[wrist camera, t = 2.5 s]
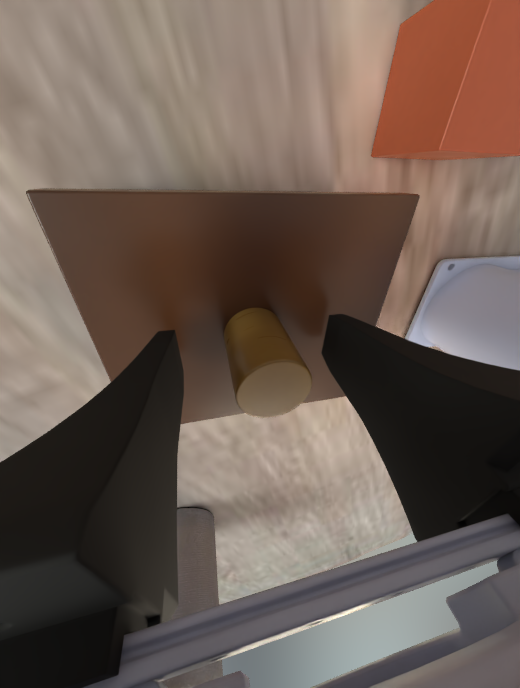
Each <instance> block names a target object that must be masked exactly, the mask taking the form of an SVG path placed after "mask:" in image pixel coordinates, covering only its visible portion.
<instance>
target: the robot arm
mask: <svg viewBox="0 0 520 688" xmlns="http://www.w3.org/2000/svg"><path fill="white" fill-rule="evenodd" d="M431 346H437V347H438V348H440V349H441V350H443V351H444V352H446V353H444V352H441V351H438V350H435V349H432V348H429V347H431ZM321 354H322V356H323V358H324V360H325V363H326V365H327V367H328V369H329V371H330V372H331V374H332V376H333V377H334V379H335V380H336V382H337V383H338V385H339V386H340V388H341V389H342V391H343V392H344V394H345V395H346V396H347V398H348V399H349V401H350V402H351V404H352V405H353V407H354V408H355V410H356V411H357V413H358V414H359V416H360V418H361V419H362V421H363V423H364V425H365V427H366V428H367V430H368V432H369V434H370V436H371V438H372V440H373V442H374V444H375V446H376V448H377V450H378V452H379V454H380V456H381V458H382V460H383V462H384V464H385V466H386V468H387V471H388V473H389V475H390V477H391V480H392V482H393V484H394V486H395V489H396V491H397V493H398V496H399V498H400V501H401V503H402V505H403V508H404V510H405V513H406V515H407V518H408V520H409V523H410V526H411V528H412V531H413V534H414V536H415V538H416V540H417V542H416V543H413V544H410V545H407V546H404V547H400V548H397V549H394V550H391V551H388V552H385V553H381V554H378V555H375V556H372V557H369V558H366V559H363V560H360V561H356V562H353V563H350V564H347V565H344V566H341V567H338V568H334V569H331V570H328V571H325V572H322V573H318V574H315V575H312V576H309V577H306V578H303V579H300V580H296V581H293V582H290V583H287V584H284V585H281V586H278V587H274V588H271V589H268V590H265V591H262V592H259V593H255V594H252V595H249V596H246V597H243V598H240V599H237V600H233V601H230V602H227V603H224V604H221V605H218V606H215V607H211V608H208V609H205V610H202V611H199V612H196V613H192V614H189V615H186V616H183V617H180V618H177V619H174V620H170V619H171V618H172V616H173V614H174V613H175V611H176V609H177V607H178V605H179V600H178V560H177V453H178V441H179V432H180V424H181V415H182V406H183V397H184V370H183V365H182V361H181V356H180V351H179V346H178V341H177V337H176V332H175V330H166V331H158V332H157V333H156V334H155V335H154V337H153V338H152V339H151V340H150V341H149V342H148V344H147V345H146V346H145V347H144V348H143V350H142V351H141V352H140V353H139V354H138V355H137V356H136V357H135V359H134V360H133V361H132V362H131V363H130V364H129V365H128V366H127V367H126V368H125V369H124V370H123V371H122V372H121V373H120V374H119V375H118V376H117V377H116V378H115V379H114V380H113V381H112V382H111V383H110V384H109V385H108V386H107V387H106V388H104V389H103V390H102V391H101V392H100V393H99V394H97V395H96V396H95V397H94V398H93V399H91V400H90V401H89V402H88V403H86V404H85V405H84V406H83V407H81V408H80V409H79V410H77V411H76V412H75V413H73V414H72V415H71V416H69V417H68V418H66V419H65V420H64V421H62V422H61V423H59V424H58V425H57V426H55V427H54V428H53V429H51V430H50V431H48V432H47V433H46V434H44V435H43V436H41V437H40V438H38V439H37V440H35V441H33V442H32V443H30V444H29V445H27V446H26V447H24V448H23V449H21V450H20V451H18V452H16V453H15V454H13V455H12V456H10V457H8V458H7V459H5V460H4V461H2V462H0V688H168V687H167V686H166V685H165V684H164V683H162V682H161V681H164V680H167V679H169V678H172V677H175V676H178V675H180V674H183V673H186V672H189V671H191V670H194V669H197V668H200V667H202V666H205V665H208V664H211V663H214V662H216V661H219V660H222V659H225V658H227V657H230V656H233V655H235V654H238V653H241V652H244V651H247V650H249V649H252V648H255V647H258V646H260V645H263V644H266V643H269V642H271V641H274V640H277V639H280V638H283V637H285V636H288V635H291V634H294V633H296V632H299V631H302V630H305V629H307V628H310V627H313V626H316V625H319V624H321V623H324V622H327V621H330V620H332V619H335V618H338V617H341V616H343V615H346V614H349V613H352V612H355V611H357V610H360V609H363V608H365V607H368V606H371V605H374V604H377V603H379V602H382V601H385V600H388V599H391V598H393V597H396V596H399V595H402V594H404V593H407V592H410V591H413V590H415V589H418V588H421V587H424V586H426V585H429V584H432V583H435V582H438V581H440V580H443V579H446V578H449V577H451V576H454V575H457V574H460V573H462V572H465V571H468V570H471V569H473V568H476V567H479V566H482V565H485V564H487V563H490V562H493V561H496V560H498V559H499V560H498V561H497V567H498V569H499V573H497V574H494V575H492V576H490V577H488V578H486V579H484V580H483V581H480V582H479V583H476V584H475V585H472V586H470V587H468V588H467V589H464V590H462V591H460V592H458V593H455V594H454V595H451V596H449V597H447V599H446V602H447V604H448V606H449V608H450V610H451V611H452V613H453V614H454V616H455V618H456V620H457V621H458V623H459V626H460V628H458V629H455V630H453V631H450V632H447V633H445V634H443V635H440V636H437V637H435V638H433V639H430V640H427V641H425V642H422V643H420V644H417V645H415V646H412V647H410V648H407V649H405V650H402V651H399V652H397V653H394V654H392V655H389V656H387V657H384V658H382V659H380V660H377V661H374V662H372V663H369V664H367V665H365V666H362V667H360V668H357V669H355V670H352V671H350V672H347V673H345V674H343V675H340V676H338V677H335V678H333V679H330V680H328V681H326V682H323V683H321V684H318V685H316V686H313V687H311V688H520V255H516V256H496V257H477V258H457V259H444V260H441V261H440V262H439V263H438V264H437V266H436V268H435V270H434V272H433V275H432V277H431V279H430V282H429V284H428V286H427V289H426V291H425V293H424V295H423V298H422V300H421V302H420V305H419V307H418V309H417V312H416V314H415V316H414V318H413V321H412V323H411V325H410V328H409V330H408V332H407V335H406V337H405V339H404V338H401V337H399V336H396V335H394V334H391V333H389V332H387V331H384V330H382V329H380V328H377V327H375V326H373V325H370V324H368V323H366V322H363V321H361V320H358V319H356V318H353V317H351V316H348V315H344V314H335V315H329V318H328V323H327V328H326V332H325V337H324V342H323V347H322V352H321ZM190 688H250V683H249V678H248V677H247V676H246V675H244V674H243V673H242V672H241V671H238V672H235V673H232V674H229V675H226V676H223V677H220V678H217V679H214V680H211V681H208V682H205V683H202V684H199V685H196V686H193V687H190Z"/></svg>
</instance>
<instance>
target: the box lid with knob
mask: <svg viewBox="0 0 520 688" xmlns="http://www.w3.org/2000/svg"><path fill="white" fill-rule="evenodd" d="M26 194H27V196H28V199H29V201H30V203H31V205H32V208H33V210H34V212H35V214H36V216H37V219H38V221H39V223H40V225H41V227H42V230H43V232H44V234H45V236H46V239H47V241H48V243H49V245H50V247H51V250H52V252H53V254H54V256H55V259H56V261H57V263H58V265H59V267H60V270H61V272H62V274H63V276H64V278H65V281H66V283H67V285H68V287H69V290H70V292H71V294H72V296H73V298H74V301H75V303H76V305H77V307H78V310H79V312H80V314H81V316H82V318H83V321H84V323H85V325H86V327H87V329H88V332H89V334H90V336H91V338H92V341H93V343H94V345H95V347H96V349H97V352H98V354H99V356H100V358H101V360H102V363H103V365H104V367H105V369H106V372H107V374H108V376H109V378H110V380H111V382H112V381H113V380H114V379H115V378H116V377H117V376H118V375H119V374H120V373H121V372H122V371H123V370H124V369H125V368H126V367H127V366H128V365H129V364H130V363H131V362H132V361H133V360H134V359H135V357H136V356H137V355H138V354H139V353H140V352H141V351H142V350H143V348H144V347H145V346H146V345H147V344H148V342H149V341H150V340H151V339H152V338H153V337H154V335H155V334H156V333H157V332H158V331H166V330H175V332H176V337H177V341H178V346H179V351H180V356H181V361H182V365H183V370H184V397H183V406H182V415H181V424H184V423H189V422H195V421H201V420H207V419H213V418H219V417H225V416H231V415H237V414H243V413H246V414H248V415H250V416H254V417H258V418H270V417H276V416H280V415H283V414H285V413H288V412H290V411H291V410H293V409H295V408H296V407H298V406H299V405H300V404H302V403H308V402H314V401H320V400H326V399H332V398H338V397H344V396H346V395H345V394H344V392H343V391H342V389H341V388H340V386H339V385H338V383H337V382H336V380H335V379H334V377H333V376H332V374H331V372H330V371H329V369H328V367H327V365H326V363H325V360H324V358H323V356H322V354H321V352H322V347H323V342H324V337H325V332H326V328H327V323H328V318H329V315H335V314H344V315H348V316H351V317H353V318H356V319H358V320H361V321H363V322H366V323H368V324H370V325H373V326H376V323H377V321H378V318H379V315H380V312H381V309H382V306H383V303H384V300H385V297H386V294H387V291H388V288H389V285H390V282H391V279H392V276H393V274H394V271H395V268H396V265H397V262H398V259H399V256H400V253H401V250H402V247H403V244H404V241H405V238H406V235H407V232H408V229H409V226H410V224H411V221H412V218H413V215H414V212H415V209H416V206H417V203H418V200H419V195H418V194H408V193H366V192H285V191H204V190H123V189H34V190H28V191H26Z"/></svg>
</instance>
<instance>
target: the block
mask: <svg viewBox="0 0 520 688" xmlns="http://www.w3.org/2000/svg"><path fill="white" fill-rule="evenodd" d="M371 156H372V157H384V158H407V159H429V160H450V159H468V158H487V157H505V156H520V0H434V1H432V2H431V3H430V4H428V5H427V6H425V7H424V8H423V9H421V10H420V11H418V12H417V13H416V14H414V15H413V16H411V17H410V18H409V19H407V20H406V21H405V22H403V23H402V24H401V25H400V29H399V34H398V38H397V43H396V47H395V52H394V56H393V60H392V65H391V69H390V74H389V78H388V83H387V87H386V92H385V96H384V101H383V105H382V110H381V114H380V119H379V123H378V128H377V132H376V136H375V141H374V145H373V150H372V154H371Z"/></svg>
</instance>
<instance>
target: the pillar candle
mask: <svg viewBox="0 0 520 688" xmlns="http://www.w3.org/2000/svg"><path fill="white" fill-rule="evenodd" d="M177 560H178V600H179V605H178V607H177V609H176V611H175V613H174V614H173V616H172V618H171V619H170V620H174V619H177V618H180V617H183V616H186V615H189V614H192V613H196V612H199V611H202V610H205V609H208V608H211V607H215V606H218V605H219V598H218V581H217V563H216V546H215V528H214V517H213V515H212V513H210V512H209V511H207V510H204V509H197V508H181V509H177ZM220 677H223V672H222V660H219V661H216V662H214V663H211V664H208V665H205V666H202V667H200V668H197V669H194V670H191V671H189V672H186V673H183V674H180V675H178V676H175V677H172V678H169V679H167V680H164V681H161V682H162V683H164V684H165V685H166V686H167V687H168V688H190V687H193V686H196V685H199V684H202V683H205V682H208V681H211V680H214V679H217V678H220Z"/></svg>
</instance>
